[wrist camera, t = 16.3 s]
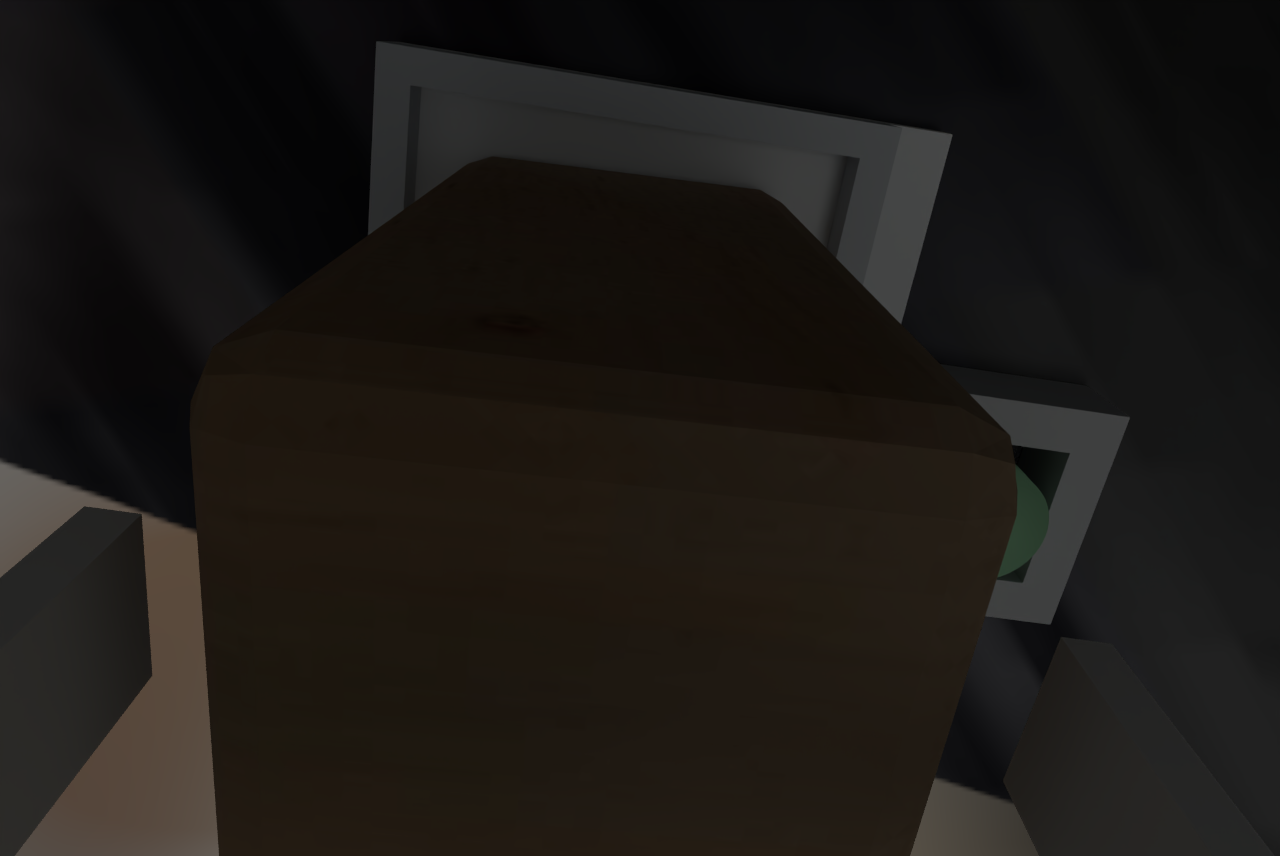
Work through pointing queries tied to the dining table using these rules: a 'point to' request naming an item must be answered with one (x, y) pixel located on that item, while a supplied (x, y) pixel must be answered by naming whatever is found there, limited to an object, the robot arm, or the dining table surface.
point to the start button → (1026, 525)
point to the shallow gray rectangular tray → (659, 148)
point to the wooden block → (587, 536)
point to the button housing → (1049, 474)
